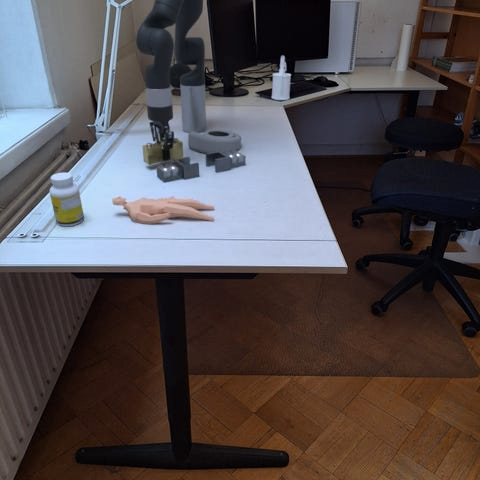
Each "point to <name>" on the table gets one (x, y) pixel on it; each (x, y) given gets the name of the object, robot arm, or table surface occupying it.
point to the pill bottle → (66, 200)
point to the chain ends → (187, 170)
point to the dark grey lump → (177, 77)
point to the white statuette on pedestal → (281, 83)
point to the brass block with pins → (154, 152)
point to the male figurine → (162, 209)
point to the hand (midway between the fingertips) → (163, 158)
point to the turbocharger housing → (214, 141)
